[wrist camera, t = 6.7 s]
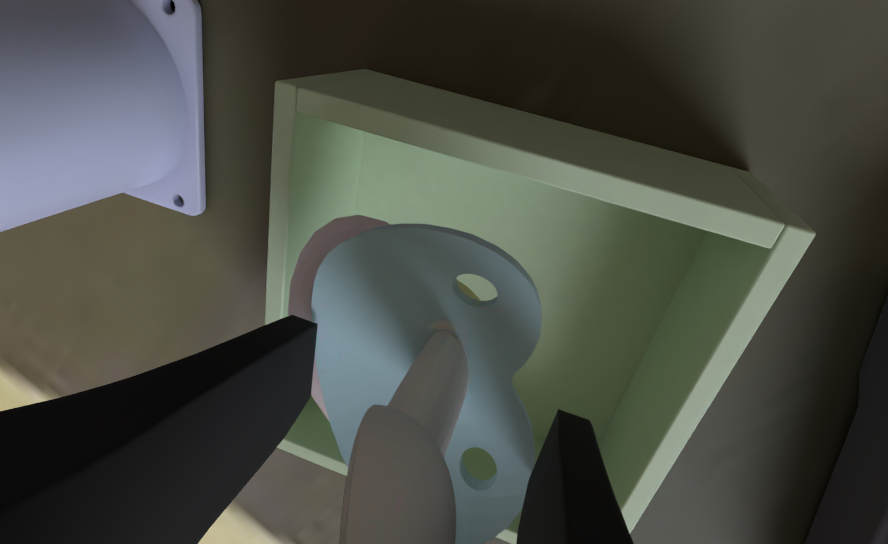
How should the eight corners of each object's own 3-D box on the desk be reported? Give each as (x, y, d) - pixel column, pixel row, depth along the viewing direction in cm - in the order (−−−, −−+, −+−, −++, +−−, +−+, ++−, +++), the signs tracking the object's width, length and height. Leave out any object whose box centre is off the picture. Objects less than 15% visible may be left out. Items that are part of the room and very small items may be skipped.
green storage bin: (328, 359, 22) (258, 441, 18) (363, 68, 16) (273, 80, 12) (602, 461, 20) (601, 581, 16) (752, 172, 14) (818, 232, 10)
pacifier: (327, 435, 14) (541, 482, 12) (144, 682, 9) (477, 828, 7) (282, 181, 11) (556, 193, 9) (-42, 318, 6) (464, 408, 4)
